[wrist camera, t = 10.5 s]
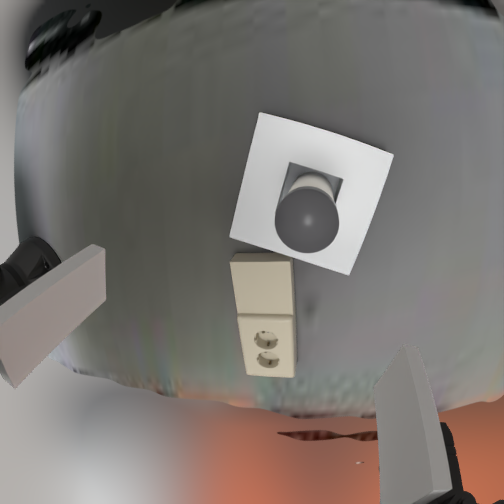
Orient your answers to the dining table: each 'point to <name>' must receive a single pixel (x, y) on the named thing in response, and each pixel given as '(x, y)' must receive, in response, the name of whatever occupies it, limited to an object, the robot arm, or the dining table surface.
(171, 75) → the dining table surface
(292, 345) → the electrical outlet
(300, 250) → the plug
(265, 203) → the socket block
